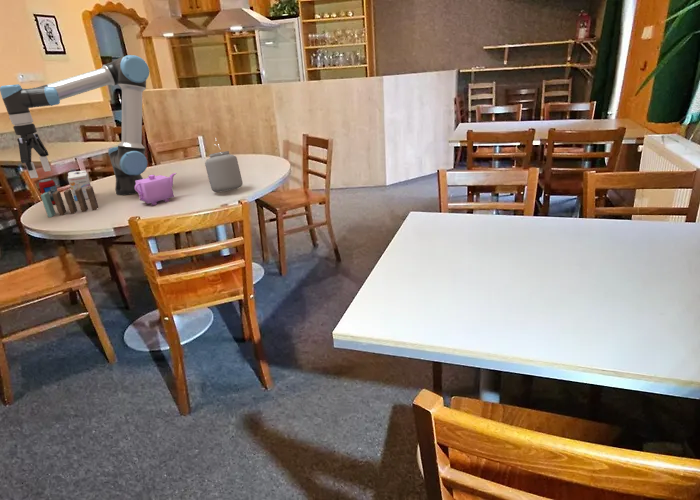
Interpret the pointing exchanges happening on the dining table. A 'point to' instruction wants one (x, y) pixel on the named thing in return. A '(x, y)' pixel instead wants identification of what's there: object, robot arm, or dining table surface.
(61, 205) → the domino
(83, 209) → the domino
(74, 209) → the domino
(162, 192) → the teapot
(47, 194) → the domino
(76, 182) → the ink box
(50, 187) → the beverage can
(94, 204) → the domino
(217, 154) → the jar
